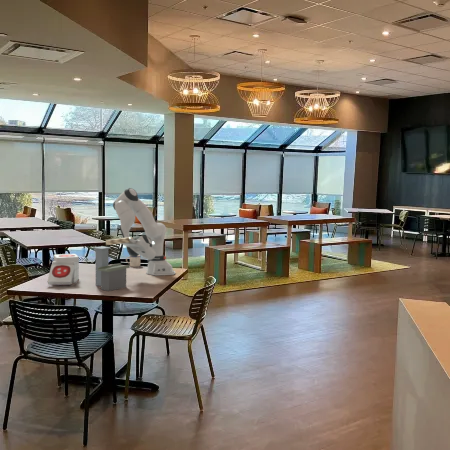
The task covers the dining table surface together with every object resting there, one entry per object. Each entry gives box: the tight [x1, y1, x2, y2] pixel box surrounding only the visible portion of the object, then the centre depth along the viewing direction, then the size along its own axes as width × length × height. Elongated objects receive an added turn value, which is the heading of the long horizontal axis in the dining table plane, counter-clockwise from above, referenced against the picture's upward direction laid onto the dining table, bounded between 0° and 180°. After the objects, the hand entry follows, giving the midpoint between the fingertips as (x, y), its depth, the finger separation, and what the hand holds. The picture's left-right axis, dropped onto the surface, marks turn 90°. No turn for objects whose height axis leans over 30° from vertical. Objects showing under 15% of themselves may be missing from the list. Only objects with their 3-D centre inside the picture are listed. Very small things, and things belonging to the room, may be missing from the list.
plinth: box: [93, 245, 111, 287], centre depth 342 cm, size 8×8×26 cm
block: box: [105, 236, 134, 246], centre depth 336 cm, size 22×3×3 cm, turn 146°
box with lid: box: [98, 263, 131, 292], centre depth 334 cm, size 20×9×15 cm, turn 146°
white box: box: [47, 253, 80, 286], centre depth 347 cm, size 19×30×18 cm, turn 5°
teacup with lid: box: [125, 255, 141, 268], centre depth 417 cm, size 12×9×12 cm
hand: (127, 238), depth 342 cm, fingers closed on block, 3 cm apart
